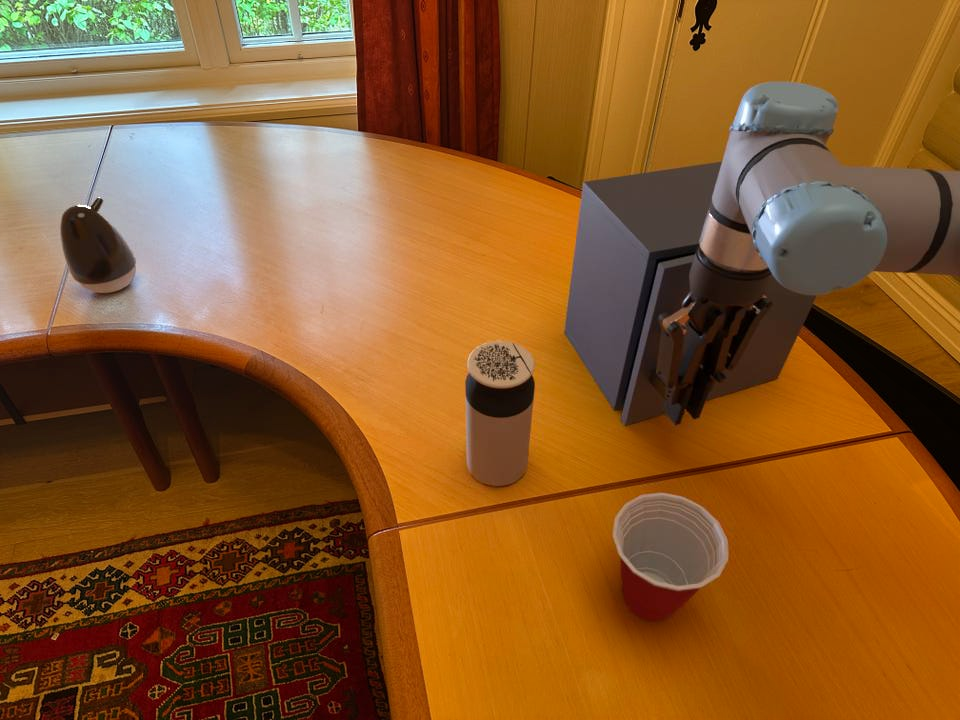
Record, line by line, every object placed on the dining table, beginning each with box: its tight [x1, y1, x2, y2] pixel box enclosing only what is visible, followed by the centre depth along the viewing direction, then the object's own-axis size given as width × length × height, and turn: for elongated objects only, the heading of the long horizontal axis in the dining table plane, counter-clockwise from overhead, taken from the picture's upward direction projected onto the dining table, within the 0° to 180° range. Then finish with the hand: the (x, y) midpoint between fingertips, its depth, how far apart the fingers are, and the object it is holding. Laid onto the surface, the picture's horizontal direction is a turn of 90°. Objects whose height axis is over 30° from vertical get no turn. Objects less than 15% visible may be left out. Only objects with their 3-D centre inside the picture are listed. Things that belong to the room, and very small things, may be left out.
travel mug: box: [464, 340, 536, 487], centre depth 73 cm, size 8×8×18 cm
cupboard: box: [563, 161, 722, 411], centre depth 86 cm, size 18×26×26 cm
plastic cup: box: [612, 492, 729, 622], centre depth 62 cm, size 11×11×12 cm
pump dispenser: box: [59, 197, 137, 294], centre depth 103 cm, size 10×10×15 cm
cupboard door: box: [620, 255, 818, 427], centre depth 77 cm, size 7×26×26 cm, turn 111°
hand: (680, 413), depth 75 cm, fingers closed on cupboard door, 2 cm apart
